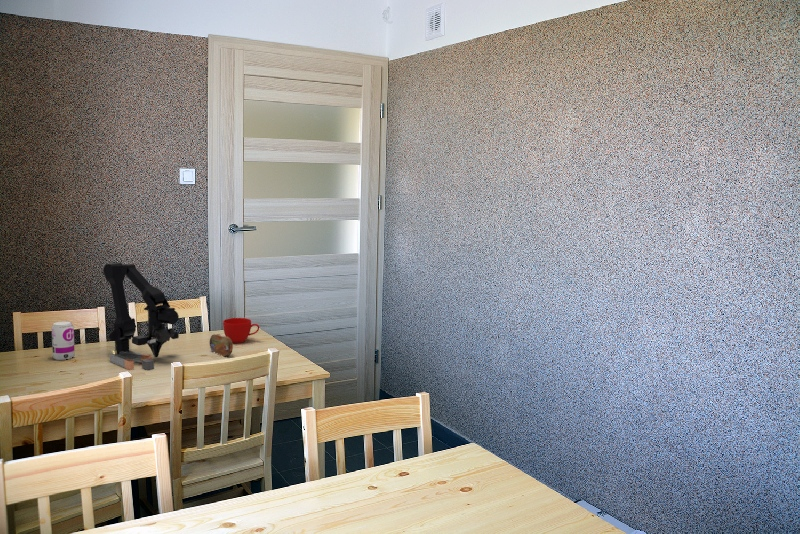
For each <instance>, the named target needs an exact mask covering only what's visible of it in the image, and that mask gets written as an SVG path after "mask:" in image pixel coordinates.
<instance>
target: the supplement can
mask: <svg viewBox="0 0 800 534" xmlns="http://www.w3.org/2000/svg"><path fill="white" fill-rule="evenodd" d="M51 344H52V345H51V347H52V358H53V359H54V360H56V361H67V360H66V359H68V360H71V359H73V358H74V357H75V355H76V352H75V351H76V350H75V327H74V325H73V322H72V321H67V320H64V321H56V322H54V323H52V326H51ZM72 357H73V358H72ZM70 358H71V359H70Z"/></svg>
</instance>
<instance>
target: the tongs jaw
mask: <svg viewBox="0 0 800 534" xmlns="http://www.w3.org/2000/svg"><path fill="white" fill-rule="evenodd" d="M119 355H121V356H123V357H126V358H128V359H131V360H133V361H134V363H140V364H142V360H146V359H150V360H153V354H147V353H141V352H140V353H139V352H134V351H133V352H124V351H121V352H119Z"/></svg>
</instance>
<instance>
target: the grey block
mask: <svg viewBox="0 0 800 534" xmlns="http://www.w3.org/2000/svg"><path fill="white" fill-rule="evenodd" d="M141 368H142V369H144V370H146V371H149V370H153V369H155V361H154V360H153V359H152V360H150V359H146V360H142V363H141Z"/></svg>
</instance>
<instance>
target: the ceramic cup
mask: <svg viewBox="0 0 800 534" xmlns="http://www.w3.org/2000/svg"><path fill="white" fill-rule="evenodd" d="M222 325H223V326H222V327H223V333H224V336H226V337H229V338H230V339H231V340H232V343H233V344H241V343H244V342H246V340H247V339H248V337H249V336H252V335H255V334H257V333H258V332H259V330H260V326H259V324H258V323H252V319H250V318H244V317H232V318H226V319H223V321H222ZM254 326H256V327H257V329H256V330H255V331H254V332H251V329H252V327H254Z"/></svg>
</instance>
